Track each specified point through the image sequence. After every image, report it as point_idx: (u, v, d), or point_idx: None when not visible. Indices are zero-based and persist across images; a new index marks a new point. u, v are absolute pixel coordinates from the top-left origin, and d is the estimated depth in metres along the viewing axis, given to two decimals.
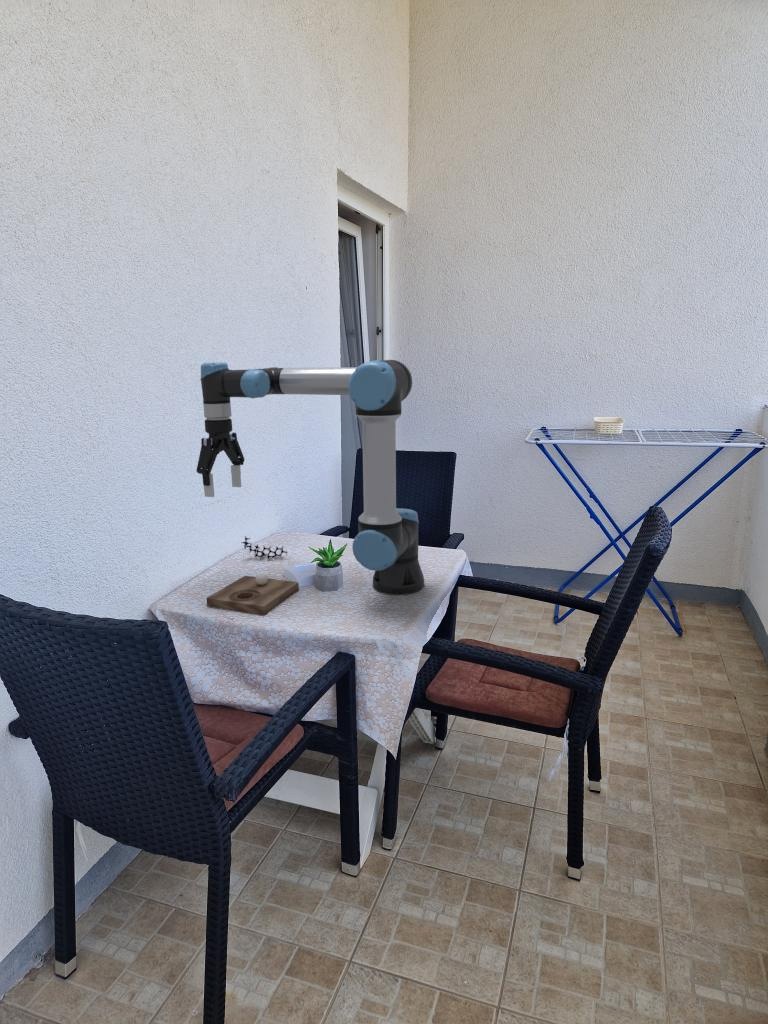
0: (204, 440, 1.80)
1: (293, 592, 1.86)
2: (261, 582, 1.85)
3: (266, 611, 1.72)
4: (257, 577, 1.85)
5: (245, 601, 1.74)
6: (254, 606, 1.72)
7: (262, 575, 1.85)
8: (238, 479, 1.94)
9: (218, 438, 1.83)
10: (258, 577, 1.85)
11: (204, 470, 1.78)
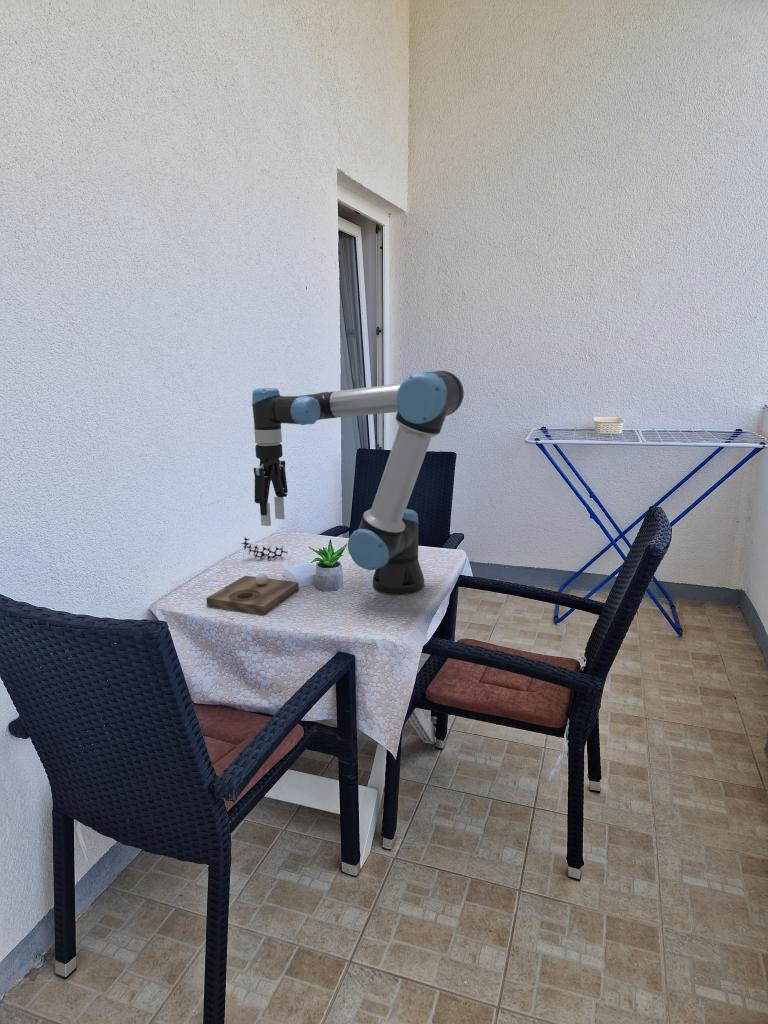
0: (256, 470, 1.80)
1: (293, 592, 1.86)
2: (261, 582, 1.85)
3: (266, 611, 1.72)
4: (257, 577, 1.85)
5: (245, 601, 1.74)
6: (254, 606, 1.72)
7: (262, 575, 1.85)
8: (282, 511, 1.92)
9: (268, 463, 1.83)
10: (258, 577, 1.85)
11: (262, 500, 1.81)
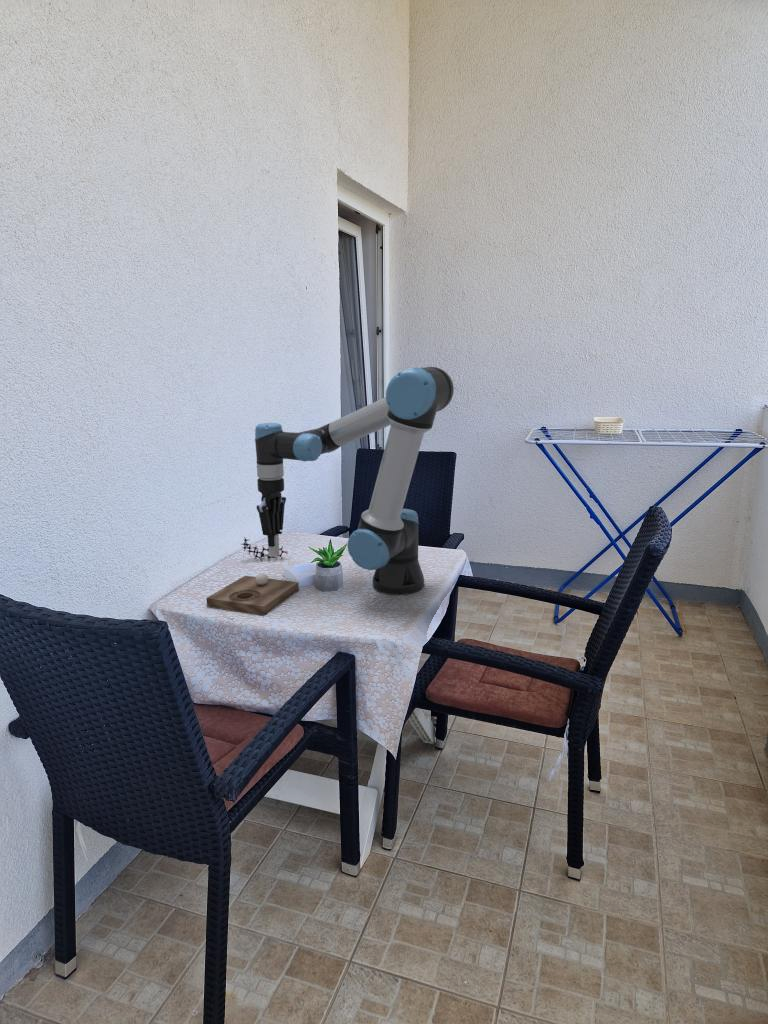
0: (259, 509, 1.83)
1: (293, 592, 1.86)
2: (261, 582, 1.85)
3: (266, 611, 1.72)
4: (257, 577, 1.85)
5: (245, 601, 1.74)
6: (254, 606, 1.72)
7: (262, 575, 1.85)
8: None
9: (270, 496, 1.85)
10: (258, 577, 1.85)
11: (270, 534, 1.87)
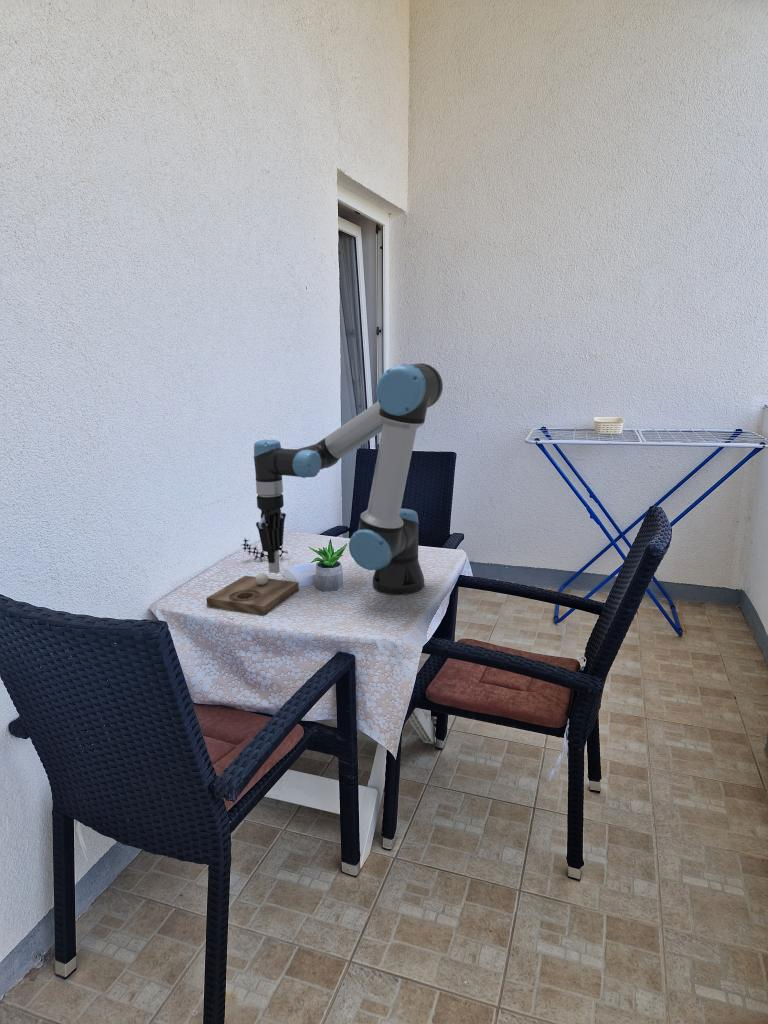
0: (259, 526, 1.83)
1: (293, 592, 1.86)
2: (261, 582, 1.85)
3: (266, 611, 1.72)
4: (257, 577, 1.85)
5: (245, 601, 1.74)
6: (254, 606, 1.72)
7: (262, 575, 1.85)
8: None
9: (269, 512, 1.85)
10: (258, 577, 1.85)
11: (270, 550, 1.87)
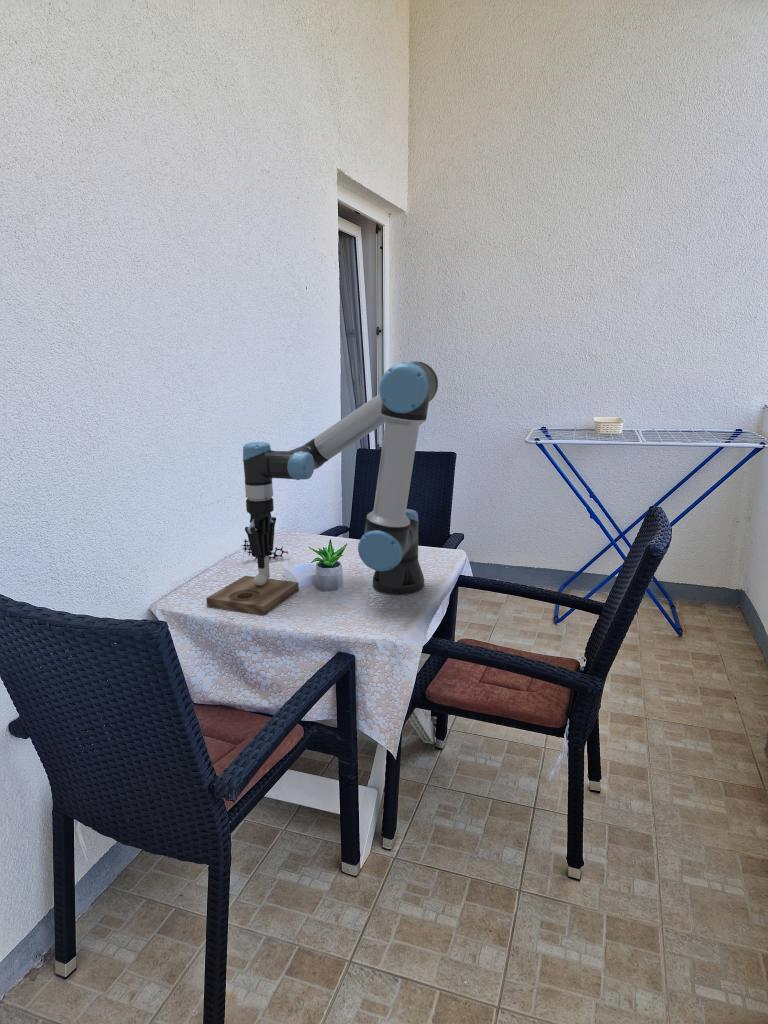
0: (248, 530, 1.78)
1: (293, 592, 1.86)
2: (260, 584, 1.84)
3: (266, 611, 1.72)
4: (255, 580, 1.84)
5: (245, 601, 1.74)
6: (254, 606, 1.72)
7: (259, 578, 1.84)
8: None
9: (259, 517, 1.80)
10: (256, 581, 1.84)
11: (259, 555, 1.82)
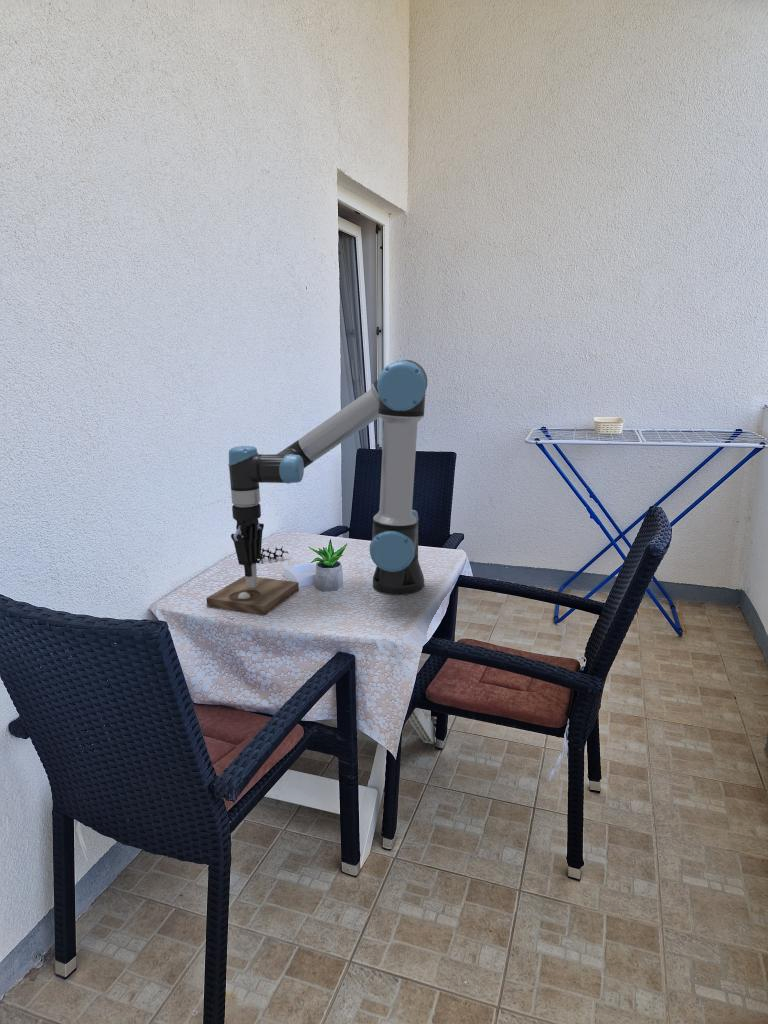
0: (234, 537, 1.72)
1: (293, 592, 1.86)
2: None
3: (266, 611, 1.72)
4: (240, 594, 1.78)
5: (245, 601, 1.74)
6: (254, 606, 1.72)
7: (245, 593, 1.78)
8: None
9: (245, 523, 1.74)
10: (240, 594, 1.77)
11: (246, 563, 1.76)
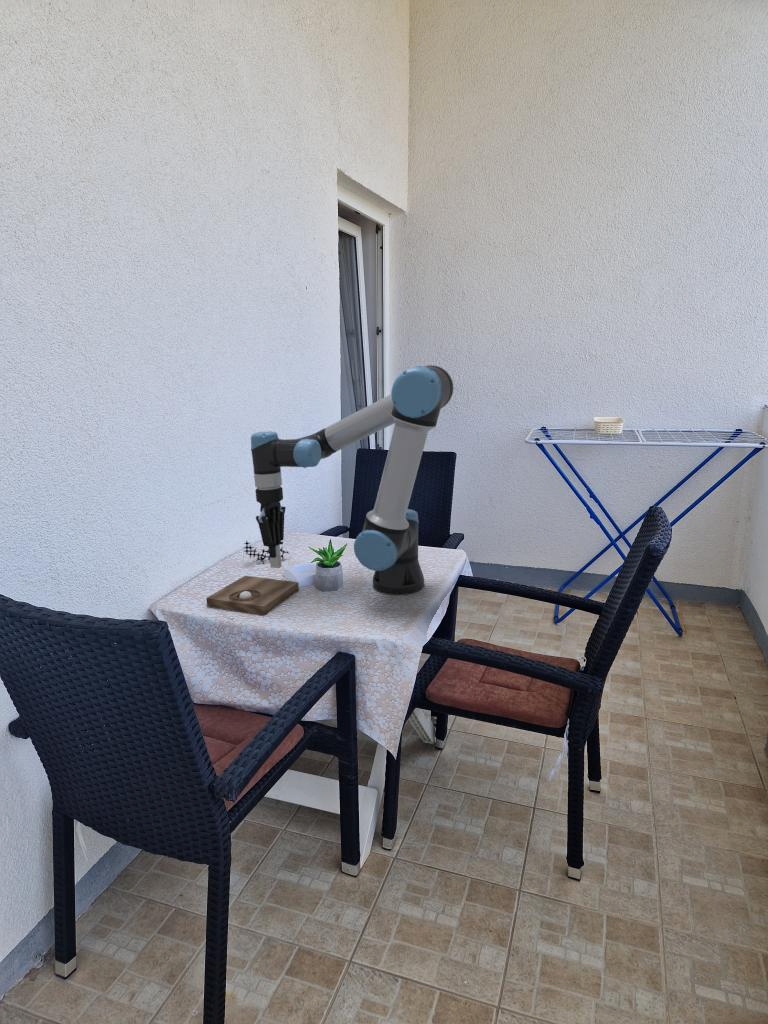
0: (259, 519, 1.79)
1: (293, 592, 1.86)
2: (245, 596, 1.78)
3: (266, 611, 1.72)
4: None
5: (245, 601, 1.74)
6: (254, 606, 1.72)
7: (248, 592, 1.79)
8: None
9: (269, 506, 1.81)
10: (244, 591, 1.79)
11: (271, 544, 1.83)
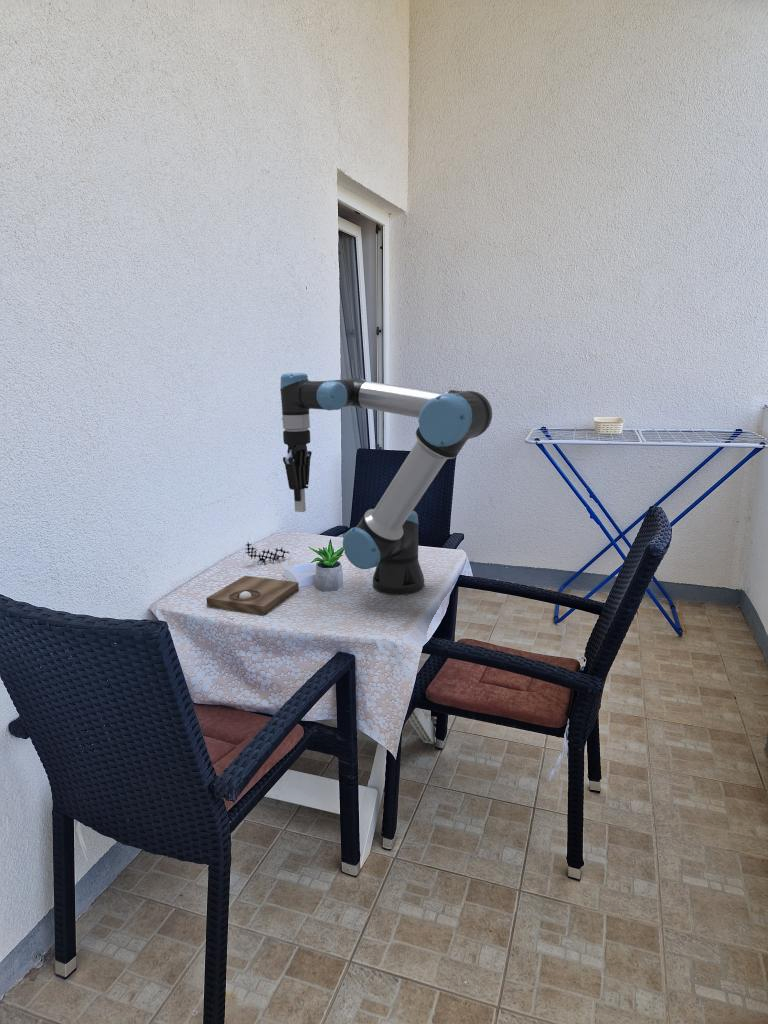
0: (286, 460, 1.79)
1: (293, 592, 1.86)
2: (245, 597, 1.77)
3: (266, 611, 1.72)
4: (242, 592, 1.79)
5: (245, 601, 1.74)
6: (254, 606, 1.72)
7: (248, 592, 1.79)
8: None
9: (296, 448, 1.81)
10: (243, 592, 1.78)
11: (297, 487, 1.82)
